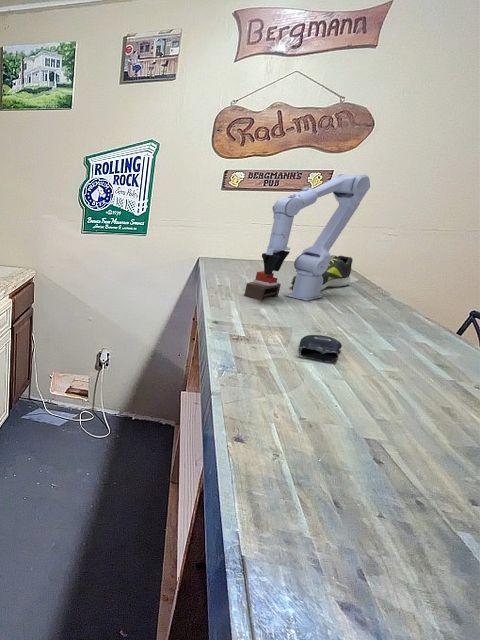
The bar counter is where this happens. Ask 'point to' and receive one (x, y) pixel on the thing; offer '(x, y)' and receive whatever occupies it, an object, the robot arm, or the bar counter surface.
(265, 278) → the shoe
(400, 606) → the bar counter surface
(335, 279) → the running shoe
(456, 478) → the bar counter surface
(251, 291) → the box
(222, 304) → the bar counter surface
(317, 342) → the electronic device
